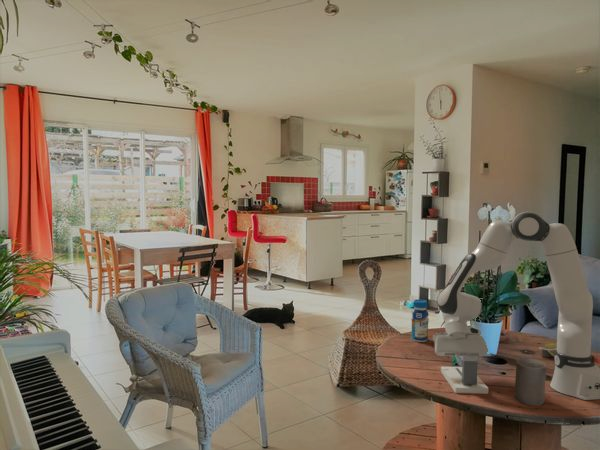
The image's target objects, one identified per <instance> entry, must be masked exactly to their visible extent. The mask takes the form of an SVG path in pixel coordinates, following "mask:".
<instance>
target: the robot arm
mask: <svg viewBox="0 0 600 450" xmlns="http://www.w3.org/2000/svg"><path fill="white" fill-rule="evenodd" d="M517 240H522V241H528V242H533V241H534V242H539V244H540V246H541V248H542V252H543V254H544V259H545V261H546V265H547V268H548V272H549V275H550V281H551V284H552V289H553V292H554V296H555V301H556V305H557V308H558V316H557V317H558V319H557V320H558V321H557V331H556V333H557V334H556V335H557V336H556V343H557V349H556V350H555V357H554V372H553V375H552V378H551V382H550V384H549V385H550V387H551V389H553V390H554V391H556V392H557V393H558V392H559V393H561V394H564V395H567V396H571V397H574V398H577V399H580V400H584V401H591V400H593V401H594V400H600V367H599V366H597V365H596V364H600V358H599V357H598V356H594V355H592V353H591V350H592V329H593V328H592V325H593V310H594V309H593V308H594V302H593V301H594V299H593V298H594V297H593V295H592V293H591V292H590V290H589V287H588V283H587V279H586V275H585V272H584V268H583V265H582V262H581V258H580V255H579V252H578V249H577V245H576V243H575V240H574V237H573V236H572V233H571V232H570V230H569V228H568V226H567V225H565V224H564V223H561V222H560V223H559V222H554V223H548V222H547V221H546V220H544V219H543V217H541V216H540V215H539V214H537V213H535V212H532V211H524V212H520V213H518V214H517V215H516V216H515V217H513V219H511V220H509V221H505V220H504V221H503V220H494V221H492V222H490V223H489V225H488V226H487V227H486V229H485V231H484V232H483V234H482V236H481V238H480V240H479V243H478V245H477V246H476V248H475V249H474V250H473V251H472V252H471V253H469V254H467V255H465V256H464V257H463V258H462V260H461V261H460V263H459V265H458V266H457V268H456V270H455V271H454V273H453V274H452V276H451V278H450V279H449V281H447V284H446V285H445V286H444V287H443V289H442V290H441V291H440V292H439V294H438V295H437V298H436V303H437V306H438V308H439V310H440V311H441V313H442V318H443V321H444V324H445V325H444V329H445V332H435V333H434V334H432V341H433V343H434V353H435V354H436V356H442V357H443V356H447V357H449V356H450V357H455V359H456V360H457V362H458V363H459V367H462V354H468V355H478V356H479V357H486V356H485V355H486V354H487V352H488V348H487V345H486V342H485V340H484V338H483V337H482V336H480V335H481V331H480V330H479V329H476V328H475V327H472V326H470V325H468V322H471V321H473V320H476V318H477V317H478V316H479V315H480V314H481V312H482V303H481V300H480V299H481V298H479V297H478V296H475V295H473V294H470V293H465V292H462V289H463V287H464V285H465V284H466V282H467V281H468V280H469V278H470V276H471V275H472V274H474V273H477V272H480V271H489V270H494V269H497V268H498V267H500V266H502V264H503V263H504V261H505V259H506V257H507V254H508V252H509V251H510V248H511V246H512V244H513V243H514V242H515V241H517Z"/></svg>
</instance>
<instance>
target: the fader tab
mask: <svg viewBox="0 0 600 450" xmlns="http://www.w3.org/2000/svg"><path fill="white" fill-rule="evenodd" d="M479 357H480V356H478V355H468V354H462V356H461V360H462V366H461V367H462V383H463V384H471V385H477V376H478V367H479V366H478V362H479Z"/></svg>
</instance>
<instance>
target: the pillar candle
mask: <svg viewBox="0 0 600 450" xmlns="http://www.w3.org/2000/svg"><path fill="white" fill-rule="evenodd" d="M515 362H516V365H515V383H514V384H515V385H514V399H515V400H516V401H517V402H519V403H520V404H523V405H527V406H534V407H535V406H536V407H538V406H543V404H544V403H545V392H546V377H547V376H546V374H547V365H546V363H545V362H543V361H540V360H538V359H534V358H529V357H527V358H526V357H525V358H524V357H523V358H518V359H517V360H516V361H515Z"/></svg>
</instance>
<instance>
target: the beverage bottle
mask: <svg viewBox="0 0 600 450" xmlns="http://www.w3.org/2000/svg"><path fill="white" fill-rule="evenodd" d="M412 305H413V309H412V311H411V315H412V316H411V318H410V319H411V337H410V338H411V340H412V341H414V342H417V343H425V342H428V340H429V320H430V319H429V315H430V313H429V312H428V310H427V308H428V301H427V300H425V299H414V300H413V303H412Z"/></svg>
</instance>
